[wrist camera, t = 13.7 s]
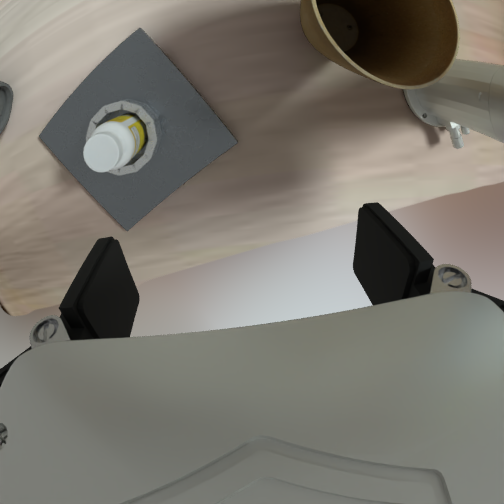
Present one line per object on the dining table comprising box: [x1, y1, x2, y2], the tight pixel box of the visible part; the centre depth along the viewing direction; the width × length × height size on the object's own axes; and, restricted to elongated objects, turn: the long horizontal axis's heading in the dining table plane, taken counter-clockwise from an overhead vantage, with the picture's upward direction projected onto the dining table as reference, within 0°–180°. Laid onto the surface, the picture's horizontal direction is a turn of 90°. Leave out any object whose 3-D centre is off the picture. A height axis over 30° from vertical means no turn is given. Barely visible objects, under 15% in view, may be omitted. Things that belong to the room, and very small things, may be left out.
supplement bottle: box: [83, 114, 148, 172], centre depth 28 cm, size 5×5×10 cm
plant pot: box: [300, 0, 460, 90], centre depth 21 cm, size 15×15×16 cm
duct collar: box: [39, 28, 238, 231], centre depth 31 cm, size 20×20×4 cm
